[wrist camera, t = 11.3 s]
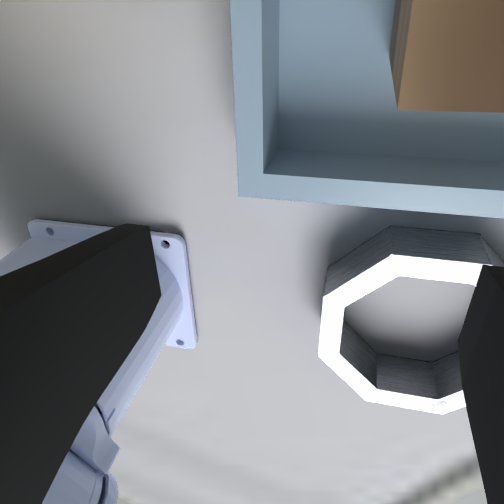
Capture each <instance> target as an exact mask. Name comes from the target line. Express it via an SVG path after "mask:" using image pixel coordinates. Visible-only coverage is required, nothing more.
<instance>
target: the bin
mask: <svg viewBox="0 0 504 504" xmlns="http://www.w3.org/2000/svg"><path fill="white" fill-rule="evenodd" d="M395 3H396V0H230V15H231V38H232V61H233V84H234V107H235V130H236V153H237V176H238V196H240V197H252V198H264V199H276V200H288V201H300V202H312V203H324V204H336V205H348V206H360V207H372V208H384V209H396V210H408V211H419V212H431V213H443V214H455V215H467V216H479V217H491V218H503V219H504V113H495V112H453V111H411V110H397V105H396V98H395V92H394V85H393V79H392V72H391V66H390V59H389V52H390V44H391V36H392V27H393V19H394V11H395Z"/></svg>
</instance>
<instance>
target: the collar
mask: <svg viewBox="0 0 504 504" xmlns="http://www.w3.org/2000/svg"><path fill="white" fill-rule="evenodd" d="M483 264H484V265H492V266H501V267H504V263H503V261H502V260H501V259H500V258H499V257H498V256H497V254H496V253H495V252H494V251H493V250H492V249H491V247H490V246H489V245H488V244H487V243H486V242H485V240H484V239H483V238H482V237H481V235H480V234H473V233H462V232H451V231H440V230H429V229H419V228H408V227H397V226H390V227H388V228H387V229H385V230H384V231H382V232H381V233H379V234H378V235H376V236H375V237H373V238H372V239H370V240H368V241H367V242H365V243H364V244H362V245H361V246H359V247H358V248H356V249H355V250H353V251H352V252H350V253H349V254H347V255H346V256H344V257H343V258H341V259H340V260H338V261H337V262H335V263H334V264H332V265H331V266H329V267H328V268H327V274H326V280H325V285H324V291H323V297H322V298H323V303H322V315H321V327H320V339H319V350H318V357H320V358H321V359H322V360H323V361H324V362H325V363H326V364H327V365H328V366H329V367H330V368H331V369H332V370H334V371H335V372H336V373H337V374H338V375H339V376H340V377H341V378H342V379H343V380H344V381H345V382H346V383H347V384H349V385H350V386H351V387H352V388H353V389H354V390H355V391H356V392H357V393H358V394H359V395H360V396H361V397H362V398H364V399H365V401H370V402H375V403H381V404H387V405H392V406H398V407H403V408H409V409H414V410H420V411H426V412H431V413H437V414H442V415H443V414H445V413H448V412H451V411H454V410H457V409H459V408H462V407H465V406H466V404H465V399H464V394H463V389H462V384H461V373H460V361H459V351H458V352H456V353H453V354H451V355H449V356H446V357H444V358H442V359H439V360H437V361H435V362H433V363H432V362H426V361H419V360H413V359H406V358H400V357H394V356H387V355H381V354H376V353H375V352H374V351H373V350H372V349H371V348H370V347H369V346H368V345H367V344H366V343H365V342H364V341H363V340H362V339H361V338H360V337H359V336H358V335H357V334H356V333H355V332H354V331H353V330H352V329H351V328H350V327H349V326H348V325H347V324H346V323H345V322H344V321H343V316H344V307H346V306H348V305H349V304H351V303H353V302H354V301H356V300H358V299H360V298H361V297H363V296H365V295H367V294H368V293H370V292H372V291H373V290H375V289H377V288H379V287H380V286H382V285H384V284H385V283H387V282H389V281H391V280H392V279H394V278H396V277H398V276H405V277H413V278H422V279H431V280H439V281H448V282H457V283H465V284H474V285H475V287H476V284H477V281H478V277H479V274H480V271H481V268H482V265H483Z"/></svg>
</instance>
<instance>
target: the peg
mask: <svg viewBox="0 0 504 504" xmlns="http://www.w3.org/2000/svg"><path fill="white" fill-rule="evenodd" d="M389 59H390V66H391V72H392V79H393V85H394V92H395V98H396V105H397V110H411V111H453V112H495V113H504V0H396V3H395V11H394V19H393V27H392V36H391V44H390V52H389Z"/></svg>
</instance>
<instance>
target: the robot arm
mask: <svg viewBox="0 0 504 504" xmlns="http://www.w3.org/2000/svg"><path fill="white" fill-rule="evenodd" d="M27 227H28V231H29V234H30V237H31V238H30V239H28V240H27V241H26V242H24V243H23V244H22V245H20V246H19V247H18V248H16V249H15V250H13V251H12V252H11V253H9V254H8V255H7V256H5V257H4V258H3V259H1V260H0V504H117V499H118V485H117V482H116V479H115V478H114V477H113V476H112V475H111V474H110V473H109V472H108V470H109V468H110V467H111V465H112V463H113V461H114V459H115V457H116V456H117V454H118V452H119V450H120V447H119V446H118V445H117V444H116V443H115V442H114V441H113V440H112V439H111V438H110V437H111V435H112V434H113V432H114V430H115V429H116V427H117V425H118V424H119V422H120V420H121V418H122V417H123V415H124V413H125V412H126V410H127V408H128V407H129V405H130V403H131V401H132V400H133V398H134V396H135V395H136V393H137V391H138V390H139V388H140V386H141V384H142V383H143V381H144V379H145V378H146V376H147V374H148V373H149V371H150V369H151V367H152V366H153V364H154V362H155V361H156V359H157V357H158V356H159V354H160V352H161V350H162V349H163V347H164V345H167V346H173V347H179V348H185V349H193V348H195V346H196V344H197V334H196V325H195V317H194V309H193V301H192V293H191V285H190V277H189V269H188V260H187V252H186V244H185V241H184V239H183V238H182V237H181V236H180V235H177V234H171V233H162V232H152V231H150V227H149V226H142V225H133V224H124V225H121V226H117V227H106V226H96V225H87V224H77V223H68V222H59V221H49V220H40V219H33V220H32V221H30V222H29V223H28V225H27ZM51 229H53V231H52V230H51ZM164 240H166V241H168V242H169V244H170V245H167V244H166V243H165V242H164ZM180 339H181V340H182V341H181V340H180ZM458 346H459V361H460V373H461V384H462V389H463V394H464V399H465V404H466V408H467V413H468V418H469V422H470V427H471V431H472V435H473V440H474V444H475V449H476V453H477V458H478V462H479V467H480V471H481V476H482V480H483V484H484V489H485V493H486V498H487V504H504V267H501V266H492V265H484V264H483V265H482V268H481V271H480V274H479V277H478V281H477V284H476V287H475V290H474V293H473V296H472V299H471V302H470V305H469V309H468V312H467V315H466V318H465V321H464V324H463V327H462V330H461V333H460V337H459V340H458Z"/></svg>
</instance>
